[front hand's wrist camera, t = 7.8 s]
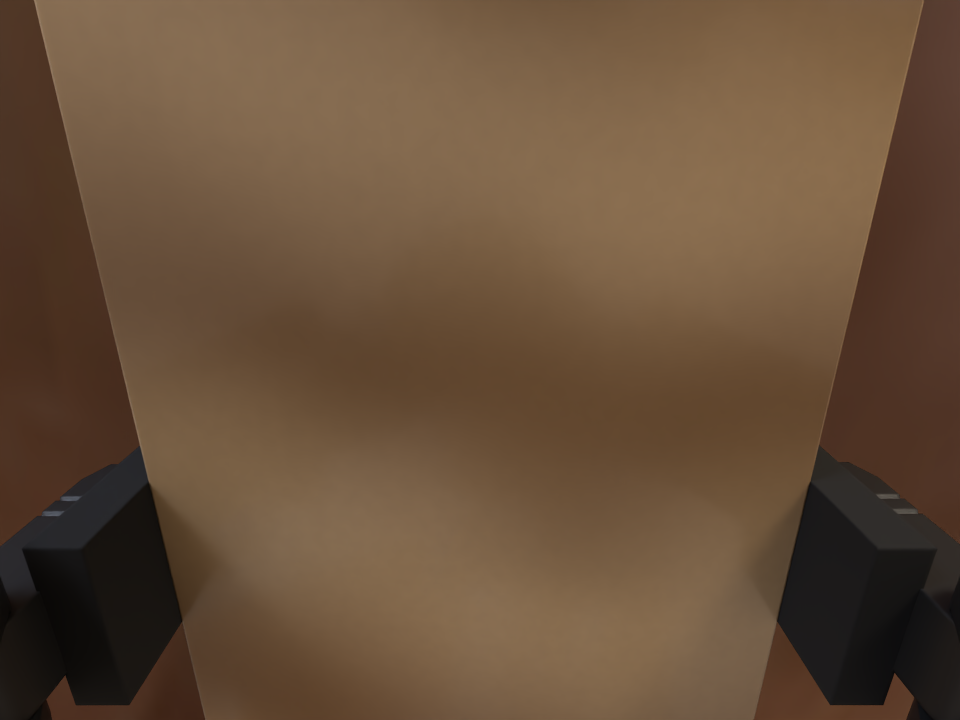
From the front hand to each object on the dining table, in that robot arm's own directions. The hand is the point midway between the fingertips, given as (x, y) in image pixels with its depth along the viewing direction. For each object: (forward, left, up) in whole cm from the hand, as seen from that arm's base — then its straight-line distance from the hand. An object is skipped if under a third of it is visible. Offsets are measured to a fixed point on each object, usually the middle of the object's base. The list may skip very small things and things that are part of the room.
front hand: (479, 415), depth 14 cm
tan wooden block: (+2, -3, -4) cm, 5 cm away
